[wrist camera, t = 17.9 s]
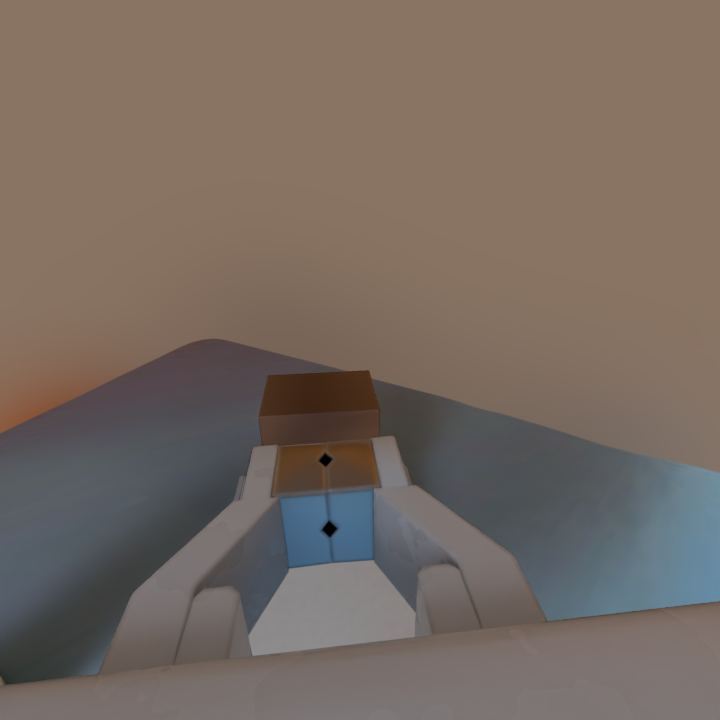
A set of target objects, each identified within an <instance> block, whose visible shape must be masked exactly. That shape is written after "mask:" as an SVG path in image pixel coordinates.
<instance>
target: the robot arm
mask: <svg viewBox="0 0 720 720" xmlns="http://www.w3.org/2000/svg"><path fill="white" fill-rule="evenodd" d="M369 560H374V562H375V564H376V565H377V566H378V567H379V569H380V570H381V571H382V572H383V573H384V575H385V576H386V577H387V578H388V580H389V581H390V582H391V583H392V585H393V586H394V587H395V588H396V589H397V591H398V592H399V593H400V594H401V596H402V597H403V598H404V599H405V601H406V602H407V603H408V604H409V605H410V607H411V608H412V609H413V610H414V612H415V613H416V619H415V635H414V637H411V638H402V639H394V640H385V641H376V642H368V643H359V644H351V645H342V646H334V647H325V648H316V649H308V650H299V651H291V652H282V653H274V654H265V655H257V656H253V655H252V651H251V646H250V641H249V636H248V635H249V634H250V632H251V631H252V629H253V628H254V626H255V624H256V623H257V621H258V620H259V618H260V617H261V615H262V613H263V612H264V610H265V609H266V607H267V605H268V604H269V602H270V601H271V599H272V598H273V596H274V594H275V593H276V591H277V590H278V588H279V587H280V585H281V583H282V582H283V580H284V579H285V577H286V575H287V574H288V572H289V569H291V568H298V567H306V566H314V565H321V564H329V563H341V562H355V561H369ZM0 720H720V601H718V602H709V603H701V604H692V605H683V606H675V607H666V608H658V609H649V610H641V611H632V612H623V613H615V614H606V615H598V616H589V617H580V618H572V619H563V620H555V621H547V619H546V617H545V615H544V613H543V611H542V609H541V608H540V606H539V604H538V602H537V600H536V598H535V596H534V594H533V592H532V590H531V588H530V586H529V584H528V582H527V580H526V578H525V576H524V575H523V573H522V571H521V569H520V567H519V565H518V563H517V561H516V559H515V557H514V555H513V554H511V553H510V552H508V551H507V550H506V549H504V548H503V547H502V546H500V545H499V544H497V543H496V542H495V541H493V540H492V539H490V538H489V537H488V536H486V535H485V534H484V533H482V532H481V531H479V530H478V529H477V528H475V527H474V526H473V525H471V524H470V523H468V522H467V521H466V520H464V519H463V518H461V517H460V516H459V515H457V514H456V513H455V512H453V511H452V510H450V509H449V508H448V507H446V506H445V505H444V504H442V503H441V502H439V501H438V500H437V499H435V498H434V497H432V496H431V495H430V494H428V493H427V492H426V491H424V490H423V489H421V488H420V487H419V486H417V485H411V486H410V485H409V482H408V478H407V475H406V472H405V468H404V465H403V462H402V459H401V455H400V452H399V449H398V446H397V442H396V439H395V437H394V436H393V435H392V436H383V437H374V438H370V439H359V440H347V441H336V442H315V443H297V444H279V445H265V446H255V447H254V449H253V450H252V454H251V458H250V463H249V467H248V472H247V476H246V481H245V485H244V490H243V494H242V499H241V500H238V501H233V502H232V503H231V504H230V505H229V506H228V507H227V508H225V509H224V510H223V511H222V512H221V513H220V514H219V515H218V516H217V517H216V518H215V519H213V520H212V521H211V522H210V523H209V524H208V525H207V526H206V527H205V528H204V529H202V530H201V531H200V532H199V533H198V534H197V535H196V536H195V537H194V538H193V539H191V540H190V541H189V542H188V543H187V544H186V545H185V546H184V547H183V548H182V549H181V550H179V551H178V552H177V553H176V554H175V555H174V556H173V557H172V558H171V559H170V560H168V561H167V562H166V563H165V564H164V565H163V566H162V567H161V568H160V569H159V570H157V571H156V572H155V573H154V574H153V575H152V576H151V577H150V578H149V579H148V580H147V581H145V582H144V583H143V584H142V585H141V586H140V587H139V588H138V589H137V590H136V591H134V592H133V593H132V595H131V598H130V600H129V602H128V605H127V607H126V609H125V611H124V614H123V616H122V618H121V621H120V623H119V625H118V628H117V630H116V632H115V635H114V637H113V639H112V641H111V644H110V646H109V648H108V651H107V653H106V655H105V658H104V660H103V662H102V665H101V667H100V669H99V672H98V674H94V675H86V676H77V677H69V678H60V679H52V680H43V681H35V682H26V683H18V684H9V685H1V686H0Z"/></svg>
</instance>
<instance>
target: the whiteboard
mask: <svg viewBox="0 0 720 720" xmlns="http://www.w3.org/2000/svg"><path fill="white" fill-rule="evenodd" d="M404 468H405V472H406V475H407V478H408V482H409V485H410V486H411V485H412V482H411V479H410V476H409V473H408V470H407V466H406V465H404ZM245 479H246V476H240V477H239V482H238V486H237V490H236V494H235V499H234V501H238V500H241V497H242V493H243V488H244V483H245ZM415 619H416V613H415V612H414V610H413V609H412V608H411V607H410V605H409V604H408V603H407V602H406V601H405V599H404V598H403V597H402V596H401V594H400V593H399V592H398V591H397V589H396V588H395V587H394V586H393V585H392V583H391V582H390V581H389V580H388V578H387V577H386V576H385V575H384V573H383V572H382V571H381V570H380V569H379V567H378V566H377V565H376V564H375V562H374V560H369V561H355V562H341V563H329V564H321V565H314V566H306V567H298V568H291V569H289V572H288V574H287V575H286V577H285V579H284V580H283V582H282V583H281V585H280V587H279V588H278V590H277V591H276V593H275V594H274V596H273V598H272V599H271V601H270V602H269V604H268V605H267V607H266V609H265V610H264V612H263V613H262V615H261V617H260V618H259V620H258V621H257V623H256V624H255V626H254V628H253V629H252V631H251V632H250V634H249V635H248V636H249V641H250V646H251V651H252V655H253V656H257V655H265V654H274V653H282V652H291V651H299V650H308V649H316V648H325V647H334V646H342V645H351V644H359V643H368V642H376V641H385V640H394V639H402V638H411V637H414V635H415Z"/></svg>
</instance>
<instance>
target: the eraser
mask: <svg viewBox="0 0 720 720" xmlns="http://www.w3.org/2000/svg"><path fill="white" fill-rule="evenodd" d="M259 425H260V433H261V441H262V446H265V445H279V444H297V443H315V442H336V441H347V440H359V439H370V438H374V437H380V408H379V404H378V401H377V397H376V394H375V390H374V386H373V383H372V379H371V376H370V372H369V371H368V370H367V371H347V372H327V373H307V374H287V375H268V376H267V381H266V385H265V390H264V394H263V399H262V404H261V408H260V413H259ZM251 454H252V451H251ZM250 458H251V456H250ZM249 463H250V460H249ZM248 467H249V465H248ZM247 472H248V470H247ZM246 476H247V474H246ZM245 481H246V479H245ZM244 485H245V483H244ZM243 490H244V488H243ZM242 494H243V493H242ZM241 499H242V497H241Z"/></svg>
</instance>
